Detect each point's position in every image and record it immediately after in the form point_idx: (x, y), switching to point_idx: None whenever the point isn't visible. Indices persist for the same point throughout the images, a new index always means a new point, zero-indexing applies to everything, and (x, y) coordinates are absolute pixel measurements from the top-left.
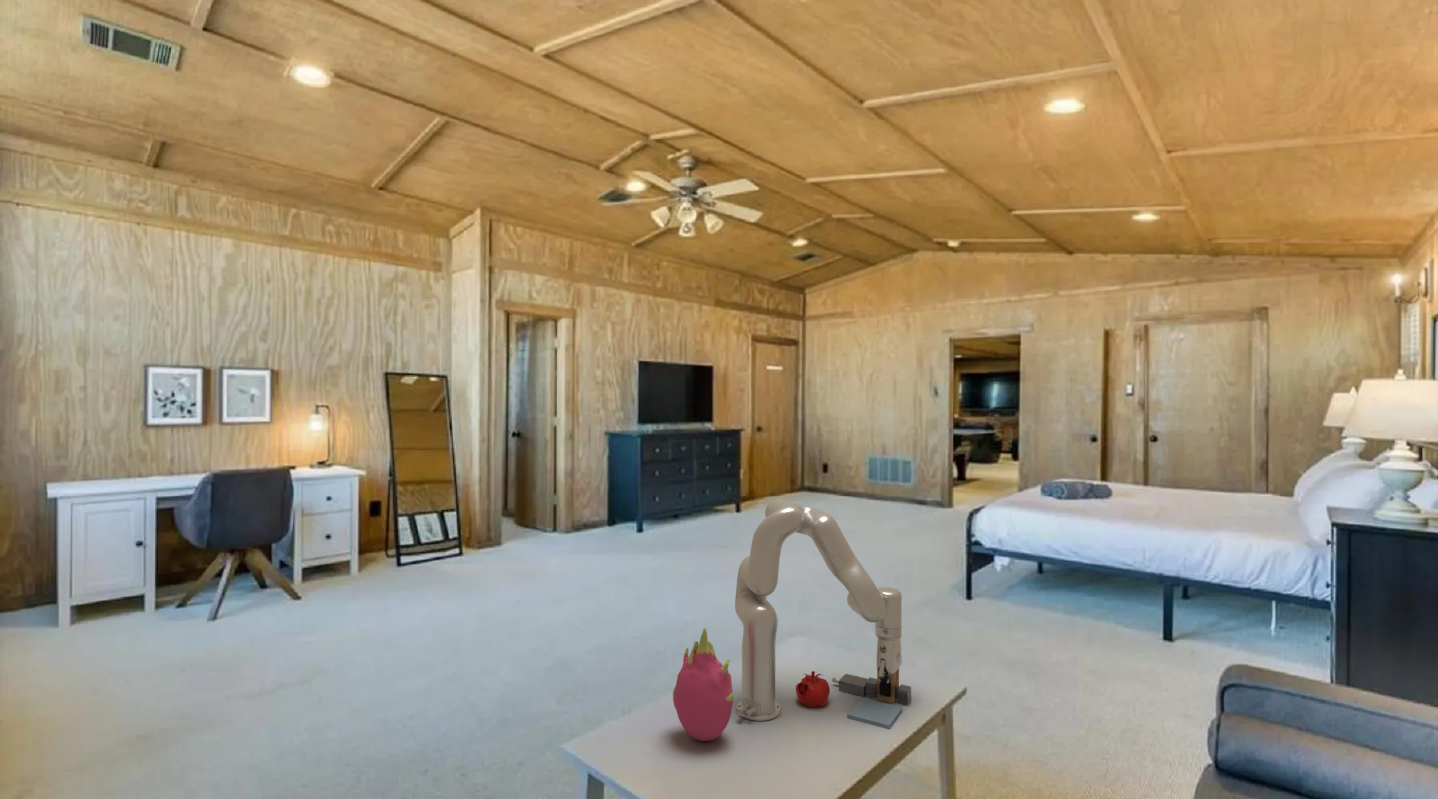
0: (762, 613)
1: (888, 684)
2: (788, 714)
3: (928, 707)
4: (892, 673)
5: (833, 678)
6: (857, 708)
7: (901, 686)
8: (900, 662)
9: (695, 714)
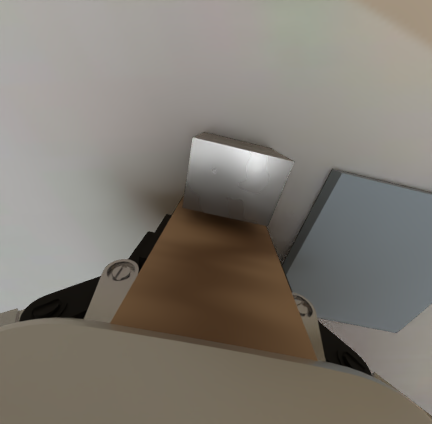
0: None
1: None
2: None
3: (269, 10)
4: (418, 407)
5: None
6: (354, 314)
7: (214, 204)
8: (28, 387)
9: None
